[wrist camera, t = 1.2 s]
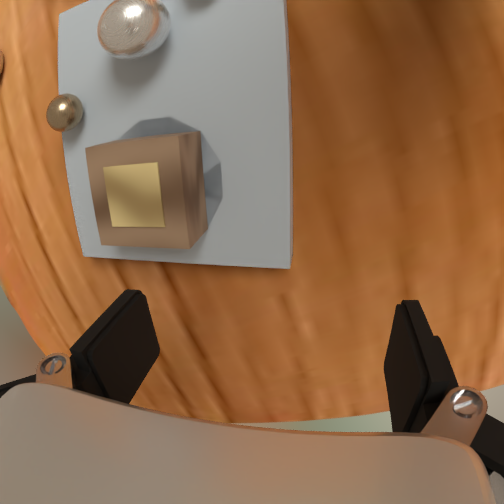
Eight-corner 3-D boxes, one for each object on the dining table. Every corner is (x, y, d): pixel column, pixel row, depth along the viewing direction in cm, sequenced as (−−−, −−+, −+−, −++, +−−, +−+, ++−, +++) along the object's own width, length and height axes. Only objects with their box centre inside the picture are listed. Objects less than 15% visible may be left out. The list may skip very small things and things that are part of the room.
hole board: (76, 17, 25) (59, 14, 22) (283, -31, 20) (279, -44, 18) (98, 245, 36) (83, 256, 34) (292, 254, 32) (289, 268, 29)
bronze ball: (63, 97, 26) (37, 99, 23) (89, 89, 25) (64, 89, 22) (65, 132, 28) (40, 137, 24) (92, 126, 27) (67, 130, 24)
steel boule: (122, 12, 22) (83, -1, 16) (181, -4, 21) (149, -25, 15) (123, 69, 24) (81, 65, 19) (183, 56, 23) (149, 46, 18)
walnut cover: (114, 140, 27) (83, 148, 23) (200, 131, 25) (177, 135, 21) (126, 227, 30) (100, 245, 26) (208, 228, 29) (189, 250, 25)
